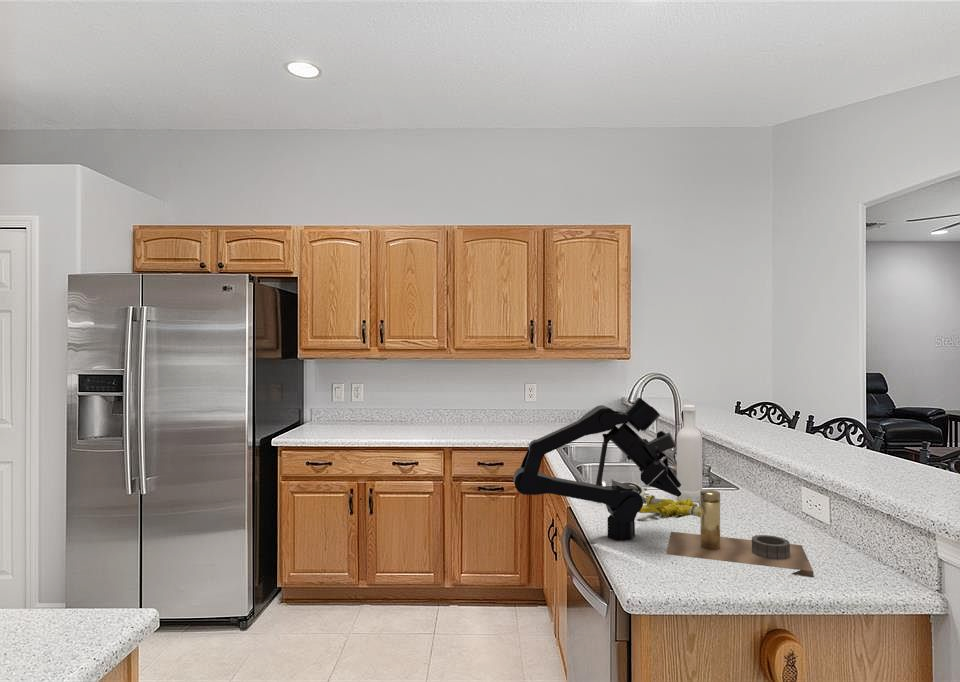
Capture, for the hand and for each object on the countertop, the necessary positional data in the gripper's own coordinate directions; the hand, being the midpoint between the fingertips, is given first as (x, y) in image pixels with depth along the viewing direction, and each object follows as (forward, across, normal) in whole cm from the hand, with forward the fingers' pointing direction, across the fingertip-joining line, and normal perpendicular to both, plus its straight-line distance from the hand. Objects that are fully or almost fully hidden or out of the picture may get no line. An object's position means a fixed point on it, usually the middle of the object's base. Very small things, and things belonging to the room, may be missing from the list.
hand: (680, 490), depth 148 cm
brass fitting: (+14, -2, +4) cm, 14 cm away
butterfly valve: (-2, +40, +22) cm, 46 cm away
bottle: (+12, +49, +8) cm, 52 cm away
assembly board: (+18, -2, +2) cm, 19 cm away
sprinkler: (+10, +28, +11) cm, 31 cm away
